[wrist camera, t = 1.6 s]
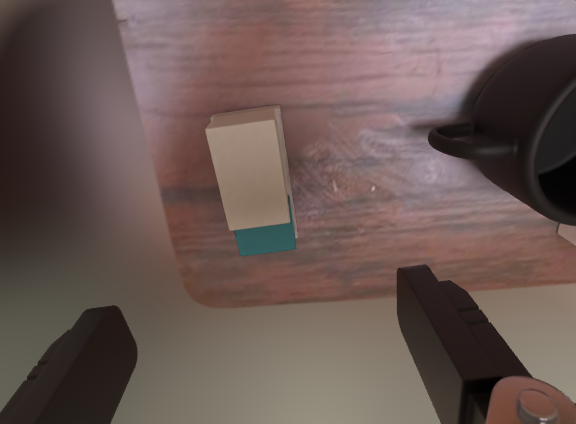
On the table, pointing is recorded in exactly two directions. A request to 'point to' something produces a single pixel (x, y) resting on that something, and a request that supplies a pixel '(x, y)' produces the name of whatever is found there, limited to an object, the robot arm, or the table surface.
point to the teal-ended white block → (254, 178)
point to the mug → (526, 129)
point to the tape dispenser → (567, 232)
